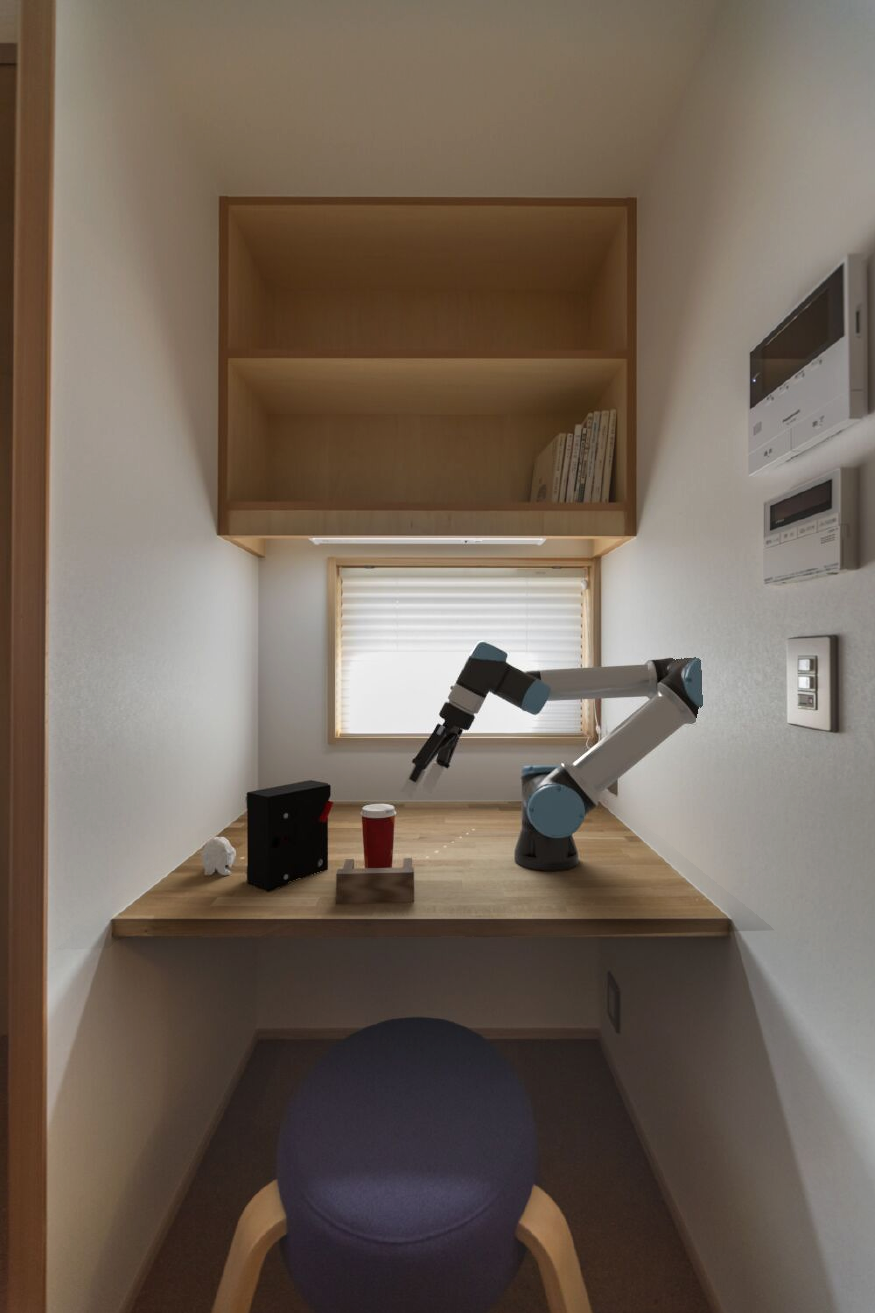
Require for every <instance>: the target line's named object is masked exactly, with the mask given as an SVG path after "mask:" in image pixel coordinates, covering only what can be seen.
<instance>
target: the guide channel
mask: <svg viewBox="0 0 875 1313" xmlns="http://www.w3.org/2000/svg"><path fill="white" fill-rule="evenodd" d="M402 859H403V867H392V868H365V867H364V868H360V867H359V868H355V859H354V858H350V859H348V858H347V859H345V860H344V863H343V868H337V871H336V874H335V876H336V877H335V878H336V879H335V880H336V884H335V885H336V889H335V890H336V893H335V894H336V899H335V900H336V902H335V903H336V904H339V905H340V904H341V905H342V904H344V905H345V904H349V905H350V904H351V905H352V904H380V903H381V904H385V903H387V904H388V903H390V904H391V903H393V904H394V903H414V902H415V869H414V867H413V857H403V858H402ZM336 904H335V905H336Z"/></svg>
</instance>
